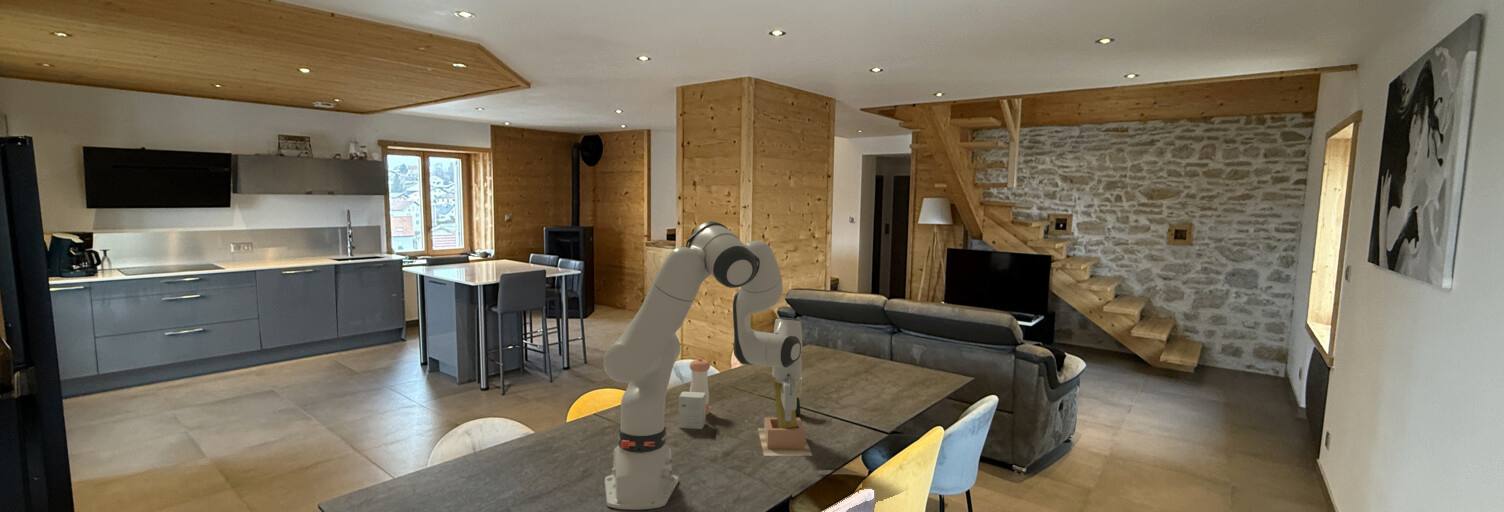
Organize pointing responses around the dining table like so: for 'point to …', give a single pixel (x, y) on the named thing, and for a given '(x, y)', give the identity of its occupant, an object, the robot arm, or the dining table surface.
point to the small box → (692, 410)
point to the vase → (781, 411)
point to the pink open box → (783, 435)
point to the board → (783, 449)
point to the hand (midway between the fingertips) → (785, 415)
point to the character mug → (799, 393)
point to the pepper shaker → (700, 378)
